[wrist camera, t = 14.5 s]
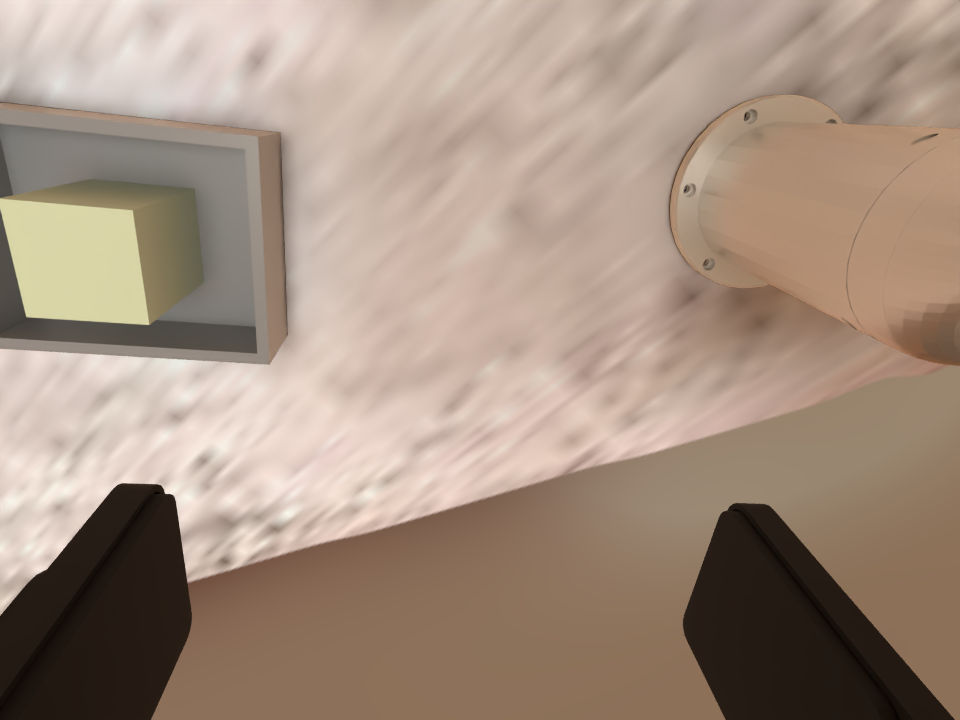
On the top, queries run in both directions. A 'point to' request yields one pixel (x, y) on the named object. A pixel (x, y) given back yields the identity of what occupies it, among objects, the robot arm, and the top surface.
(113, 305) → the pale yellow block
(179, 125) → the tub
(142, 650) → the robot arm
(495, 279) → the top surface
